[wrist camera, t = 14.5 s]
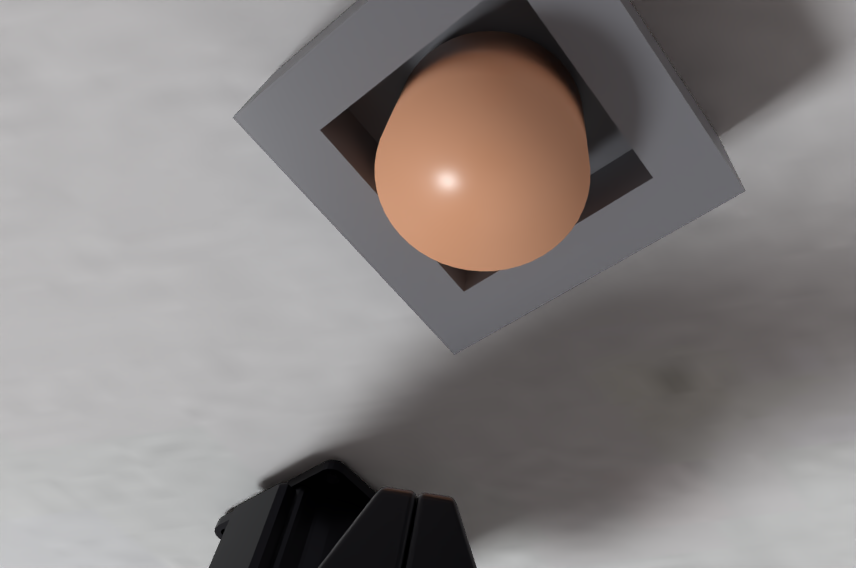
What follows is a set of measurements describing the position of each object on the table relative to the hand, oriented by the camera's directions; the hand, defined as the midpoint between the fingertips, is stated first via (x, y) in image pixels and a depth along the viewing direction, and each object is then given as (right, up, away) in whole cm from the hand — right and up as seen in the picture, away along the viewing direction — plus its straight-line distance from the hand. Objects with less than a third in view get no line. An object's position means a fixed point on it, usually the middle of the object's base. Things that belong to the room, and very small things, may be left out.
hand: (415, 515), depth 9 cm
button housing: (+2, +7, +11) cm, 13 cm away
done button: (+2, +6, +10) cm, 12 cm away
